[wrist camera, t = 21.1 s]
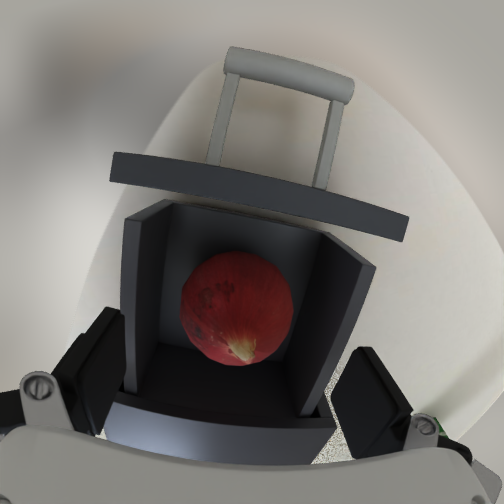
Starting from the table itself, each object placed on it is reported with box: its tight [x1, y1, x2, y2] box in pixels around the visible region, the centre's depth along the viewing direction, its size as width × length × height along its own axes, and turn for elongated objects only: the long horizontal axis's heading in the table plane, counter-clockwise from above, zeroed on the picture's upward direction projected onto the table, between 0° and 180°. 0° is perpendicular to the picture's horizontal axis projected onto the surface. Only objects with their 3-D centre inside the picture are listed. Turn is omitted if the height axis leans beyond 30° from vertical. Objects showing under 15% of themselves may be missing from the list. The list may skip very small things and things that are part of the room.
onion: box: [180, 251, 294, 366], centre depth 14 cm, size 6×6×8 cm
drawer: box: [109, 47, 409, 418], centre depth 15 cm, size 20×13×7 cm, turn 168°
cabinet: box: [103, 378, 337, 466], centre depth 19 cm, size 15×14×9 cm
